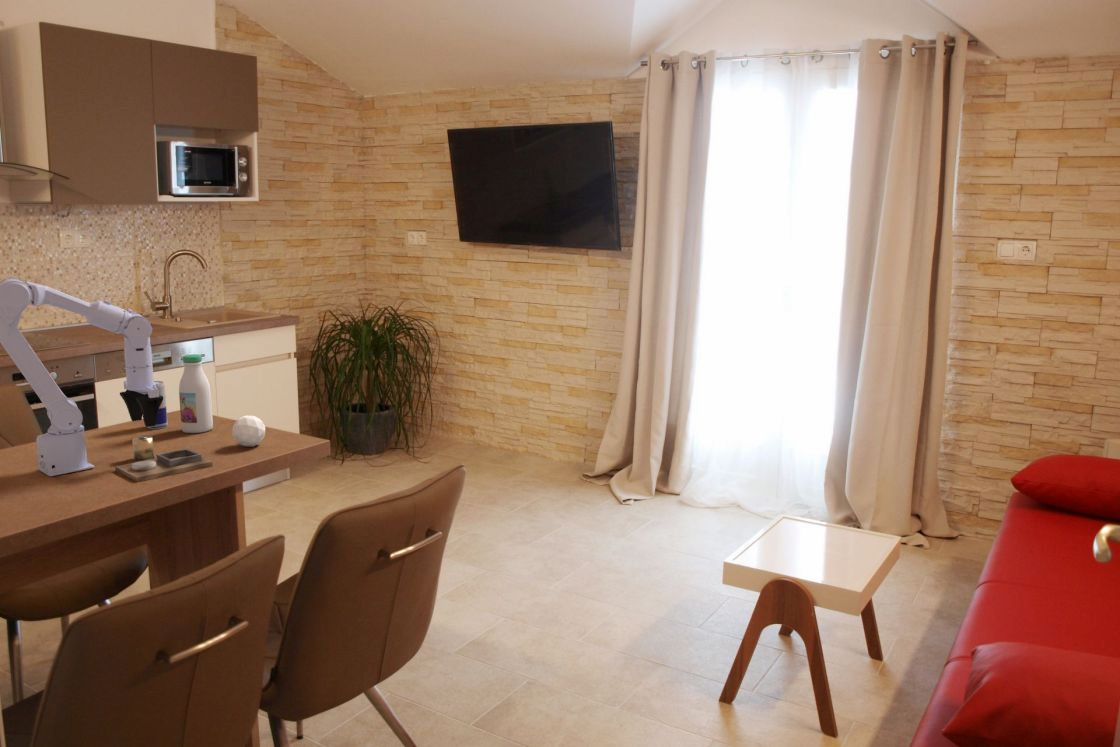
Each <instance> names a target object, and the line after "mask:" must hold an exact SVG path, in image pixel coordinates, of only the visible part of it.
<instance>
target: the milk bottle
mask: <svg viewBox="0 0 1120 747" xmlns="http://www.w3.org/2000/svg"><path fill="white" fill-rule="evenodd" d="M182 362H183V363H182V364H183V366H184V367H183V368H184V369H183V373H182V376H181V378H180V380H179V384H178V393H179V411H180V412H179V413H180V425H181V430H182V432H183V433H186V434H187V433H188V434H199V433H200V434H201V433H205V432H206V433H207V432H209V431H212V430H213V428H214V422H213V421H214V420H213V408H212V407H213V406H212V394H211V386H210V385H211V384H210V382H209V380H208V377H207V376H206V373H205V372H204V369H203V367H202V364H203V356H202V354H197V353H193V354H185V355H182Z"/></svg>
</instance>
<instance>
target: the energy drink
mask: <svg viewBox="0 0 1120 747" xmlns="http://www.w3.org/2000/svg"><path fill="white" fill-rule="evenodd" d="M154 382H158V383H159V386H156V388H158V391H159V396H160V395H161V396H163V401H162V403H161V405H160V407H159V411H158V415H157V421H156V425H155V426H150V427H146V428H147V429H148V430H161V429H164V428H167V427H168V425H169V424H168V411H167V410H168V409H167V397H166V387H165V383H164V381H161V380H154ZM166 426H167V427H166Z"/></svg>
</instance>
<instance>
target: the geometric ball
mask: <svg viewBox="0 0 1120 747" xmlns="http://www.w3.org/2000/svg"><path fill="white" fill-rule="evenodd" d="M231 432H232V437H233V439H234V440H235V442H236V444H239V445H240V446H243V447H255V446H257V445H259V444H260V443H261V442H262V441H263V439H264V438H265V436H266V425H265V424H264V422H263V421H262V419H260V418H259V417H257V416H255V415H243V416H241V417H240V418H238V419H237V420H236V421H235V423H234V424H233V425H232V431H231Z"/></svg>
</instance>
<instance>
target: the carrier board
mask: <svg viewBox="0 0 1120 747" xmlns="http://www.w3.org/2000/svg"><path fill="white" fill-rule="evenodd" d="M155 456H156V458H155V457H154V459H149V460H144V461H139V462H138V461H135V462H131V463H126V464H119V465H115V466H114V469H115V472H117V473H119V474H121V475H123V476H124V477H126V478H128V479H131V480H132V481H135V482H136V483H140V482H144V481H147V480H148V481H149V480H153V479H157V478H161V477H162V478H163V477H167V476H171V475H175V474H176V475H177V474H182V473H185V472H186V473H187V472H190V471H195V470H200V469H205V468H209V467H213V466H214V465H213V464H214V462H213V461H212V460H209V459H207V458H205V457H202V454H201V453H199V452H197V451H194V450H191V449H189V448H183V449H178V450H174V451H167V452H162V453H157V454H156V455H155Z"/></svg>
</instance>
